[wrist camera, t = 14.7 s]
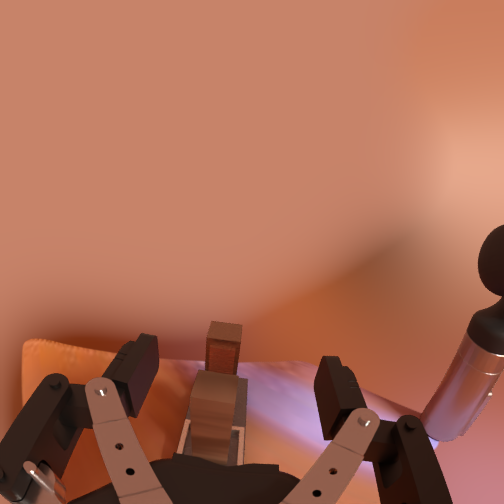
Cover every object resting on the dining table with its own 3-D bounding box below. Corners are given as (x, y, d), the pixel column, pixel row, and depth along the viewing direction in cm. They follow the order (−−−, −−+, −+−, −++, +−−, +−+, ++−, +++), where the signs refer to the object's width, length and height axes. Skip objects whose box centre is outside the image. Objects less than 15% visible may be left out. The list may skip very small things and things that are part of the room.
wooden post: (226, 465, 25) (235, 403, 21) (192, 459, 25) (189, 396, 21) (230, 438, 29) (239, 372, 26) (198, 433, 29) (199, 366, 26)
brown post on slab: (241, 490, 22) (257, 430, 19) (171, 480, 22) (159, 415, 18) (246, 385, 41) (257, 315, 38) (198, 378, 41) (200, 308, 38)
